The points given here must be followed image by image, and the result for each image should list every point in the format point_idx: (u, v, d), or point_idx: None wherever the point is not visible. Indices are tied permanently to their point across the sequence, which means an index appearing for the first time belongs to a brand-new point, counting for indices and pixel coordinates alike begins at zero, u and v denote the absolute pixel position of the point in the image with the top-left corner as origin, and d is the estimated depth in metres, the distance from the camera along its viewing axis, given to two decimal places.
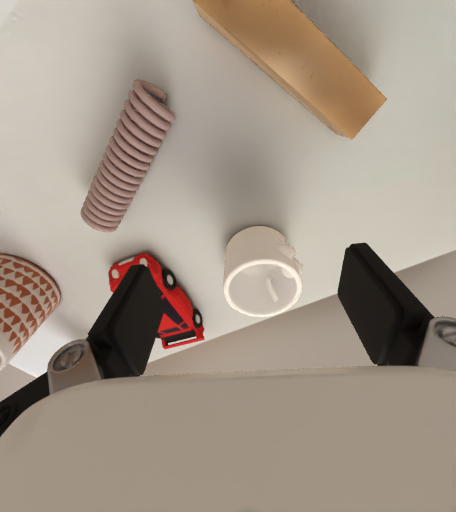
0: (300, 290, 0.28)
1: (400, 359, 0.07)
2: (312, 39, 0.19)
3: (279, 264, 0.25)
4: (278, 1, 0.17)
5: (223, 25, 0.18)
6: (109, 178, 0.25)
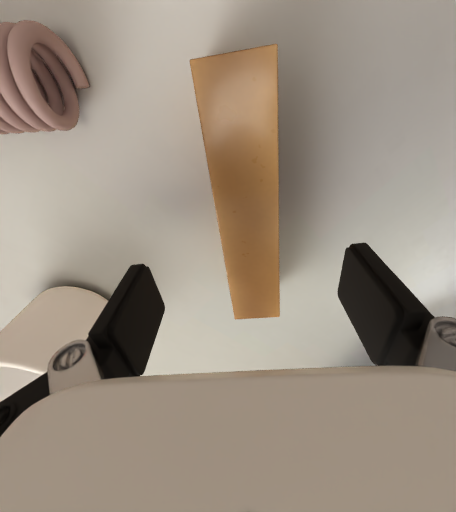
0: None
1: (400, 359, 0.07)
2: (268, 232, 0.15)
3: None
4: (269, 175, 0.13)
5: (202, 127, 0.12)
6: None
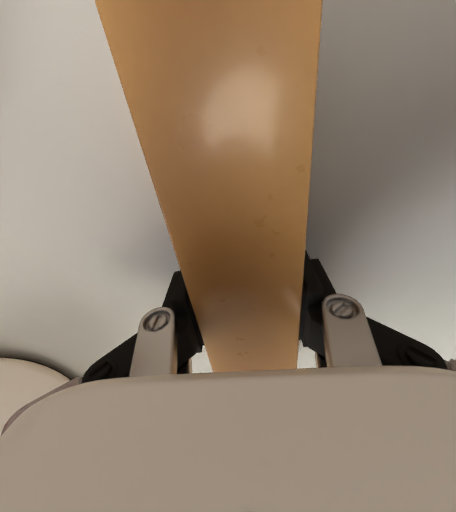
0: None
1: (308, 332, 0.08)
2: (281, 327, 0.09)
3: None
4: (287, 248, 0.07)
5: (148, 161, 0.06)
6: None
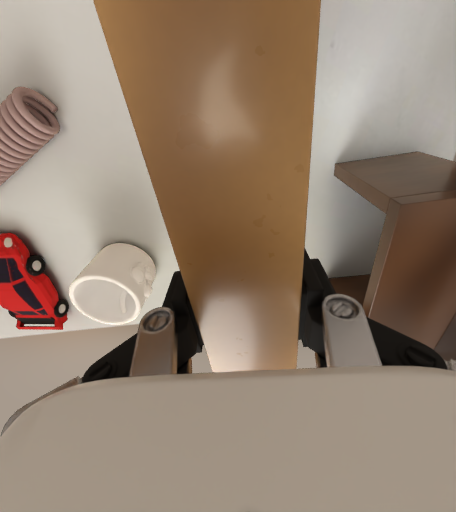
0: (138, 310, 0.32)
1: (308, 332, 0.08)
2: (280, 327, 0.09)
3: (120, 285, 0.30)
4: (286, 247, 0.07)
5: (147, 161, 0.06)
6: None
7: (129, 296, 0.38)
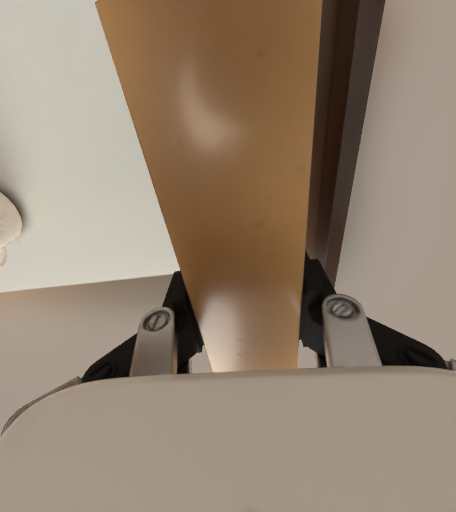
0: None
1: (308, 332, 0.08)
2: (281, 328, 0.09)
3: None
4: (287, 249, 0.07)
5: (148, 163, 0.06)
6: None
7: None
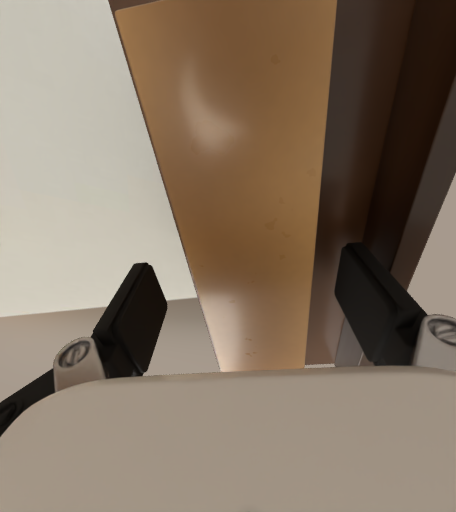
0: None
1: (394, 356, 0.07)
2: (289, 327, 0.09)
3: None
4: (297, 250, 0.07)
5: (162, 167, 0.06)
6: None
7: None
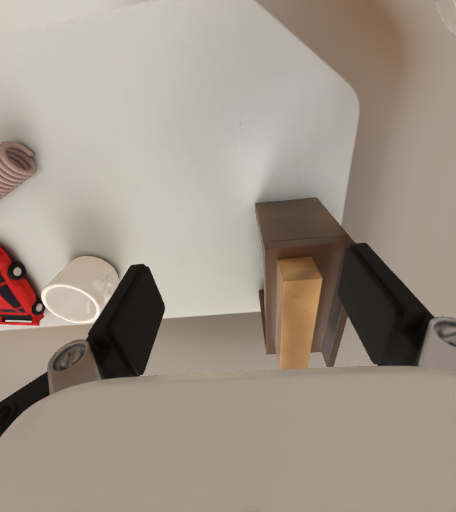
0: (98, 312, 0.40)
1: (400, 359, 0.07)
2: (307, 336, 0.29)
3: (82, 292, 0.37)
4: (311, 316, 0.26)
5: (283, 300, 0.25)
6: None
7: None
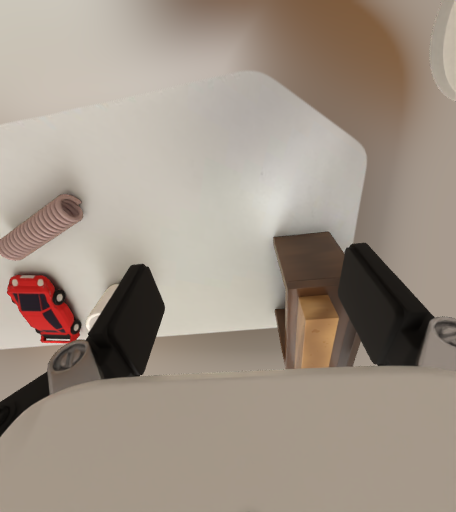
0: None
1: (400, 359, 0.07)
2: (324, 361, 0.33)
3: None
4: (329, 345, 0.31)
5: (304, 333, 0.30)
6: (24, 237, 0.38)
7: None
